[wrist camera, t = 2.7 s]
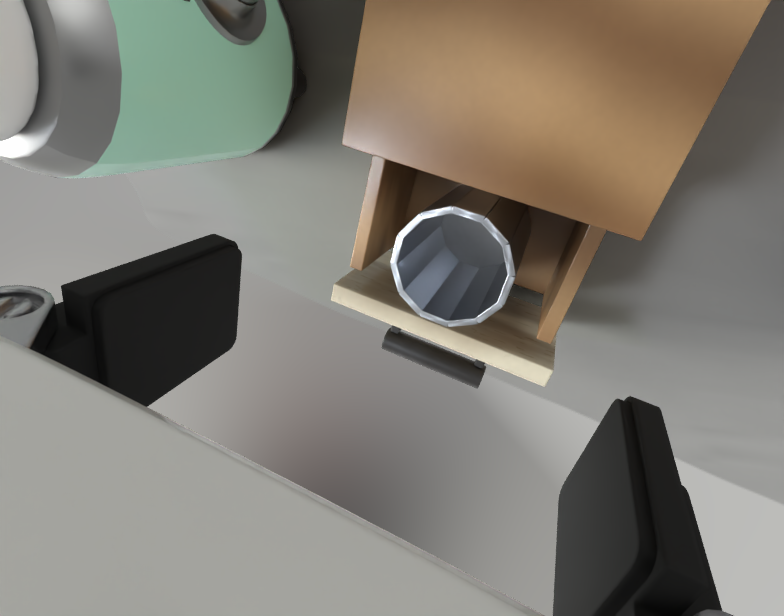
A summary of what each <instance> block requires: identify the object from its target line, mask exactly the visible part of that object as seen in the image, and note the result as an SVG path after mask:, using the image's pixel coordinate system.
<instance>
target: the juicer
mask: <svg viewBox="0 0 784 616" xmlns="http://www.w3.org/2000/svg"><path fill="white" fill-rule="evenodd" d="M297 60H298V58H297V52H296V46H295V41H294V35H293V29H292V27H291V24H290V21H289V19H288V16H287V14H286V11H285V9H284V6H283V3H282V1H281V0H0V160H2V161H4V162H5V163H7V164H9V165H13V166H16V167H19V168H22V169H26V170H29V171H32V172H36V173H40V174H44V175H48V176H51V177H55V178H86V177H98V176H107V175H115V174H123V173H130V172H137V171H144V170H151V169H158V168H166V167H173V166H180V165H187V164H194V163H201V162H208V161H216V160H223V159H230V158H237V157H244V156H247V155H249V154H251V153H253V152H255V151H257V150H259V149H261V148H263V147H264V146H266V145H267V144H268V143H269V142H270V141H271V140H272V139H273V138H274V137H275V136H276V134H277V133H278V132H279V131H280V130H281V128H282V126H283V124H284V123H285V121H286V119H287V117H288V115H289V113H290V111H291V108H292V104H293V100H294V97H299V96H301V95H302V94H303V93H304V92H305V89H306V78H305V75H304V73H303V72H302V71H301V70H300V69H299V68H297Z"/></svg>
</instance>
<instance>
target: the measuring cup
mask: <svg viewBox="0 0 784 616" xmlns="http://www.w3.org/2000/svg"><path fill="white" fill-rule="evenodd" d="M530 234H531V226H530V217H529V212H528V208H527V207H526V204H524V203H521V202H518V201H514V200H511V199H508V198H505V197H502V196H499V195H496V194H493V193H490V192H486V191H483V190H480V189H477V188H474V187H471V186H468V185H465V184H461V185H459V186H458V187H456V188H455V189H454V190H452V191H451V192H449V193H448V194H446V195H445V196H443V197H442V198H440V199H439V200H438V201H436V202H435V203H433V204H432V205H430V206H429V207H427V208H426V209H424V210H423V211H422V212H420V213H419V214H418V215H417V216H416V217H415V218H414V219H412V220H411V221H410V222H409V223H408V224H407V225H406V226H405V227H404V228H403V229H402V230H401V231H400V232H399V233H398V235H397V238H396V242H395V246H394V250H393V254H392V258H391V262H390V263H392V264H391V269H392V272H393V276H394V280H395V283H396V287H397V291H398V292H400V293H399V295H400V296H401V297H402V298H403V299H404V300H405V301H406V302H407V303H408V304H409V306H410V307H411V308H412V309H413V310H414V311H415V312H416V313H417V314H418V315H419V314H420V316H421V317H423V318H426V319H428V320H431V321H433V322H436V323H438V324H441V325H443V326H446V327H447V326H448V327H455V326H465V325H475V324H478V323H481V322H482V321H484V320H485V319H487V318H488V317H489V316H491V315H492V314H494V313H495V312H496V311H498V310H499V309H501V308H502V307H503V305H504V304H505V302H506V300H507V297H508V295H509V292H510V290H511V287H512V285H513V282H514V280H515V277H516V275H517V272H518V269H519V266H520V263H521V260H522V257H523V254H524V252H525V249H526V246H527V243H528V240H529V237H530Z"/></svg>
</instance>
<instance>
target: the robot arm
mask: <svg viewBox="0 0 784 616" xmlns="http://www.w3.org/2000/svg"><path fill="white" fill-rule="evenodd" d="M241 261H242V254H241V251H240V250H239V249H238V246H237V244H236V243H235V242H234V241H232V240H229V239H226V238H224V237H221V236H219V235H216V234H211V235H208V236H205V237H202V238H199V239H196V240H193V241H190V242H187V243H184V244H182V245H179V246H176V247H173V248H170V249H167V250H164V251H161V252H158V253H155V254H152V255H149V256H147V257H143V258H141V259H138V260H135V261H132V262H129V263H126V264H123V265H120V266H117V267H114V268H111V269H108V270H105V271H103V272H99V273H97V274H94V275H91V276H88V277H85V278H82V279H79V280H76V281H73V282H70V283H67V284H64V285H62V286H61V289H62V296H63V302H61V303H58V304H55V302H54V298H53V296H52V295H51V293H49V292H47V291H46V290H44V289H40V288H36V287H32V286H22V285H19V286H18V285H14V286H1V287H0V616H544V615H542V614H541V613H539V612H537V611H535V610H533V609H532V608H530V607H528V606H526V605H524V604H522V603H521V602H519V601H517V600H515V599H513V598H511V597H510V596H508V595H506V594H504V593H502V592H500V591H498V590H497V589H495V588H493V587H491V586H489V585H487V584H485V583H484V582H482V581H480V580H478V579H476V578H474V577H472V576H471V575H469V574H467V573H465V572H463V571H461V570H460V569H458V568H456V567H454V566H452V565H450V564H449V563H447V562H445V561H443V560H441V559H439V558H437V557H435V556H433V555H431V554H430V553H428V552H426V551H424V550H422V549H420V548H418V547H416V546H414V545H412V544H410V543H408V542H406V541H405V540H403V539H401V538H399V537H397V536H395V535H393V534H391V533H389V532H387V531H386V530H384V529H381V528H380V527H378V526H376V525H374V524H372V523H370V522H368V521H366V520H364V519H363V518H361V517H359V516H357V515H355V514H353V513H351V512H349V511H347V510H345V509H343V508H342V507H340V506H338V505H336V504H334V503H332V502H330V501H328V500H326V499H324V498H322V497H321V496H319V495H317V494H315V493H312V492H311V491H309V490H307V489H305V488H303V487H301V486H299V485H297V484H295V483H293V482H291V481H289V480H287V479H286V478H284V477H282V476H280V475H278V474H276V473H274V472H272V471H270V470H268V469H266V468H264V467H263V466H261V465H259V464H257V463H255V462H253V461H251V460H249V459H247V458H245V457H243V456H241V455H239V454H237V453H235V452H233V451H231V450H230V449H228V448H226V447H224V446H222V445H220V444H218V443H216V442H214V441H212V440H210V439H208V438H206V437H204V436H202V435H200V434H198V433H196V432H195V431H193V430H191V429H189V428H187V427H184V426H183V425H181V424H179V423H177V422H175V421H173V420H171V419H169V418H167V417H165V416H163V415H161V414H159V413H157V412H155V411H153V410H151V409H149V408H147V406H149V405H150V404H152V403H153V402H155V401H156V400H157V399H159V398H160V397H162V396H163V395H165V394H166V393H167V392H169V391H170V390H172V389H173V388H175V387H176V386H178V385H179V384H181V383H182V382H183V381H185V380H186V379H188V378H189V377H191V376H192V375H193V374H195V373H196V372H198V371H199V370H201V369H202V368H204V367H205V366H207V365H208V364H209V363H211V362H212V361H214V360H215V359H217V358H218V357H220V356H221V355H223V354H224V353H225V352H227V351H228V350H230V349H231V348H232V346H233V345H234V343H235V340H236V336H237V321H238V306H239V291H240V276H241ZM557 525H558V526H557V545H556V564H555V565H556V566H555V584H554V604H553V616H733V615H731V614H728V613H726V612H723V611H722V608H721V605H720V601H719V598H718V594H717V591H716V587H715V584H714V581H713V577H712V574H711V570H710V567H709V563H708V560H707V556H706V553H705V549H704V546H703V542H702V539H701V535H700V532H699V529H698V525H697V521H696V518H695V514H694V511H693V507H692V504H691V500H690V497H689V494H688V492H687V490H686V488H685V487H684V486H682V485H681V482H680V478H679V474H678V470H677V467H676V463H675V460H674V456H673V452H672V449H671V445H670V441H669V438H668V434H667V431H666V427H665V423H664V420H663V416H662V412H661V410H660V408H659V407H657V406H654V405H652V404H649V403H647V402H644V401H641V400H639V399H636V398H634V397H631V396H630V397H627V398H626V399H625V400H624V401H623V400H620V399H616V400H615V401H614V402H613V403H612V405H611V406H610V408H609V410H608V411H607V413H606V415H605V416H604V418H603V420H602V421H601V423H600V425H599V426H598V428H597V430H596V431H595V433H594V434H593V436H592V438H591V439H590V441H589V443H588V444H587V446H586V448H585V450H584V451H583V453H582V454H581V456H580V458H579V459H578V461H577V463H576V464H575V466H574V468H573V469H572V471H571V472H570V474H569V476H568V477H567V479H566V481H565V482H564V484H563V486H562V489H561V492H560V495H559V503H558V523H557Z"/></svg>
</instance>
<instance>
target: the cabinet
mask: <svg viewBox="0 0 784 616" xmlns="http://www.w3.org/2000/svg"><path fill="white" fill-rule="evenodd" d="M770 1H771V0H366V2H365V8H364V14H363V20H362V26H361V32H360V38H359V44H358V50H357V56H356V61H355V67H354V73H353V79H352V85H351V91H350V97H349V103H348V109H347V115H346V121H345V127H344V133H343V139H342V145H343V146H346V147H349V148H352V149H356V150H359V151H362V152H365V153H368V154H371V155H374V156H377V157H381V158H384V159H387V160H390V161H393V162H396V163H399V164H402V165H405V166H409V167H412V168H415V169H418V170H421V171H424V172H427V173H430V174H433V175H437V176H440V177H443V178H446V179H449V180H452V181H455V182H458V183H461V184H465V185H468V186H471V187H474V188H477V189H480V190H483V191H486V192H490V193H493V194H496V195H499V196H502V197H505V198H508V199H511V200H514V201H518V202H521V203H524V204H527V205H530V206H533V207H536V208H539V209H542V210H546V211H549V212H552V213H555V214H558V215H561V216H564V217H567V218H570V219H574V220H577V221H580V222H583V223H586V224H589V225H592V226H595V227H599V228H602V229H605V230H608V231H611V232H614V233H617V234H620V235H623V236H627V237H630V238H633V239H636V240H639V241H641V240H642V239H643V237H644V235H645V233H646V231H647V230H648V228H649V226H650V224H651V222H652V220H653V218H654V217H655V215H656V213H657V211H658V209H659V207H660V205H661V204H662V202H663V200H664V198H665V196H666V194H667V192H668V191H669V189H670V187H671V185H672V183H673V181H674V179H675V178H676V176H677V174H678V172H679V170H680V168H681V166H682V164H683V163H684V161H685V159H686V157H687V155H688V153H689V151H690V150H691V148H692V146H693V144H694V142H695V140H696V138H697V137H698V135H699V133H700V131H701V129H702V127H703V125H704V124H705V122H706V120H707V118H708V116H709V114H710V112H711V111H712V109H713V107H714V105H715V103H716V101H717V99H718V98H719V96H720V94H721V92H722V90H723V88H724V86H725V84H726V83H727V81H728V79H729V77H730V75H731V73H732V71H733V70H734V68H735V66H736V64H737V62H738V60H739V58H740V57H741V55H742V53H743V51H744V49H745V47H746V45H747V44H748V42H749V40H750V38H751V36H752V34H753V32H754V31H755V29H756V27H757V25H758V23H759V21H760V19H761V17H762V16H763V14H764V12H765V10H766V8H767V6H768V4H769V3H770Z"/></svg>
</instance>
